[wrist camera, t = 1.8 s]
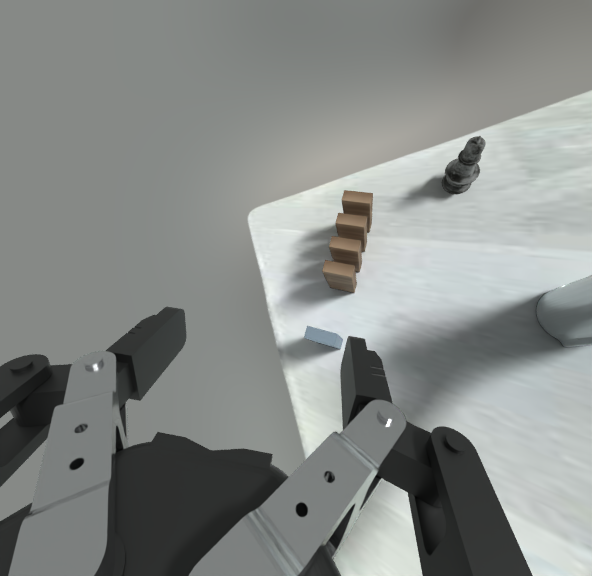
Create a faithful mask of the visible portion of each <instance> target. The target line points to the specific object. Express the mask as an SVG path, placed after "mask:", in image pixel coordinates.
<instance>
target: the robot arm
mask: <svg viewBox="0 0 592 576" xmlns="http://www.w3.org/2000/svg"><path fill="white" fill-rule="evenodd" d="M536 310H537V317H538V320H539V322H540V324H541V326H542V327H543V328H544V329H545V331H547V332H548V333H549V334H550V335H552V336H553V337H555V338H557V339H558V340H560V341H561V343H562V345H563V346H564V347H574V346H590V345H592V275H591V276H588V277H586V278H583V279H580V280H578V281H575V282H572V283H570V284H567V285H564V286H561V287H558V288H556V289H554V290H551V291H549V292H548V293H546V294H544V295H543V296H542V297H541V298H540V300H539V302H538V304H537V308H536ZM185 341H186V324H185V313H184V310H183V309H178V308H172V307H165V308H164V309H163V310H162V311H160V312H159V313H158V314H157V315H153V316H150V317H148V318H146V319H144V320H142V321H141V322H140V323H138V324H137V325H136V326H135V328H132V329H131V330H130V331H129V332H128V333H126V334H125V335H124V336H123V337H121V338H120V339H119V340H118V341H117V342H115V343H114V344H113V345H112V346H111V347H109V348H108V349H107V350H106V351H98V352H93V353H90V354H87V355H84V356H83V357H80V358H79V359H77V360H76V361H75V362H74V363H73V364H68V365H52V366H50V363H49V360H48V358H47V357H46V356H44V355H37V354H35V355H27V356H22V357H19V358H16V359H13V360H11V361H9V362H7V363H5V364H4V365H2V366H1V367H0V418H1V417H2V416H3V415H5V414H6V413H7V412H8V411H11V413H12V415H13V417H14V418H13V419H12V420H10V421H9V422H8V423H7V424H6V425H4V426H3V427H2V428H1V429H0V487H1V486H2V485H3V484H4V483H5V482H6V480H7V479H8V478H9V477H10V476H11V475H12V474H13V473H14V472H15V471H16V470H17V469H18V468H19V467H20V466H21V465H22V464H23V463H24V462H25V461H26V460H27V459H28V458H29V456H31V455H32V453H33V452H34V451H35V450H36V449H37V448H38V447H39V446H40V445H41V444H42V443H43V442H44V441H45V440H46V439H47V442H46V447H45V451H44V455H43V460H42V464H41V469H40V473H39V477H38V481H37V486H36V490H35V494H34V499H33V502H32V503H31V504H29V505H27V506H26V507H24V508H22V509H20V510H19V511H17V512H16V513H14V514H12V515H10V516H9V517H7V518H5V519H4V520H2V521H0V576H341V575H340V573H339V571H338V569H337V567H336V565H335V563H334V561H333V559H334V557H335V556H336V554H337V553H338V551H339V549H340V548H341V546H342V545H343V543H344V542H345V540H346V538H347V537H348V535H349V533H350V531H351V529H352V527H353V525H354V524H355V522H356V520H357V518H358V517H359V515H360V513H361V512H362V510H363V509H364V507H365V506H366V504H367V503H368V501H369V499H370V498H371V496H372V495H373V493H374V492H375V490H376V489H377V487H378V485H379V484H380V482H381V481H382V479H384V480H386V481H388V482H390V483H392V484H394V485H395V486H397V487H399V488H401V489H403V490H405V491H406V492H408V497H409V502H410V508H411V513H412V519H413V524H414V530H415V535H416V541H417V546H418V552H419V557H420V563H421V568H422V574H423V576H532V573H531V571H530V569H529V567H528V565H527V562H526V560H525V558H524V556H523V553H522V551H521V549H520V547H519V544H518V542H517V540H516V538H515V536H514V533H513V531H512V529H511V527H510V524H509V522H508V520H507V518H506V516H505V513H504V511H503V509H502V507H501V504H500V502H499V500H498V498H497V495H496V493H495V491H494V489H493V487H492V484H491V482H490V480H489V478H488V475H487V473H486V471H485V469H484V467H483V464H482V462H481V460H480V458H479V455H478V453H477V451H476V449H475V447H474V446H473V444H472V443H471V442H470V441H469V440H468V439H467V438H466V437H465V436H464V435H462V434H461V433H459V432H458V431H456V430H454V429H451V428H448V427H437V428H435V429H434V430H433V431H432V433H430V432H427V431H425V430H423V429H421V428H419V427H416V426H414V425H412V424H410V423H409V422H407V421H406V419H405V416H404V414H403V413H402V412H401V410H400V409H399V408H398V407H396V406H395V405H394V404H393V403H392V399H391V395H390V391H389V387H388V384H387V380H386V377H385V372H384V370H383V364H382V360H381V359H380V357H379V356H378V355H377V353H376V352H375V351H370V350H367V347H366V342H365V339H363V338H357V337H351V336H349V337H348V339H347V343H346V347H345V351H344V355H343V359H342V364H341V396H342V417H343V431H342V432H341V433H340V434H338V433H337V432H333V433H332V434H331V435H330V436H329V437H328V438H327V439H326V440H325V441H324V442H323V443H322V444H321V445H320V446H319V447H318V448H317V449H316V450H315V451H314V452H313V453H312V454H311V455H310V456H309V457H308V458H307V459H306V460H305V461H304V462H303V463H302V464H301V465H300V466H299V467H298V468H297V469H296V470H295V471H294V472H293V473H292V474H291V476H289V477H288V476H287V475H286V474H285V473H284V472H283V471H281V470H280V469H279V468H277V467H275V466H274V465H272V464H271V462H272V454H269V453H263V452H258V451H253V450H248V449H231V450H215V451H212V450H209V449H207V448H205V447H203V446H201V445H199V444H197V443H195V442H193V441H191V440H189V439H187V438H185V437H181V436H175V435H170V434H165V433H160V432H158V433H157V434H156V436H155V437H154V439H153V440H152V442H146V443H141V444H137V445H134V446H131V447H129V444H128V419H127V418H128V417H127V405H126V401H127V400H128V399H129V398H130V399H134V400H141V399H142V398H143V396H144V395H145V394H146V393H147V392H148V390H149V389H150V388H151V386H152V385H153V384H154V383H155V382H156V380H157V379H158V378H159V377H160V375H161V374H162V373H163V372H164V370H165V369H166V368H167V367H168V365H169V364H170V363H171V362H172V360H173V359H174V358H175V357H176V356H177V354H178V353H179V352H180V351H181V349H182V348H183V346H184V344H185Z"/></svg>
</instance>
